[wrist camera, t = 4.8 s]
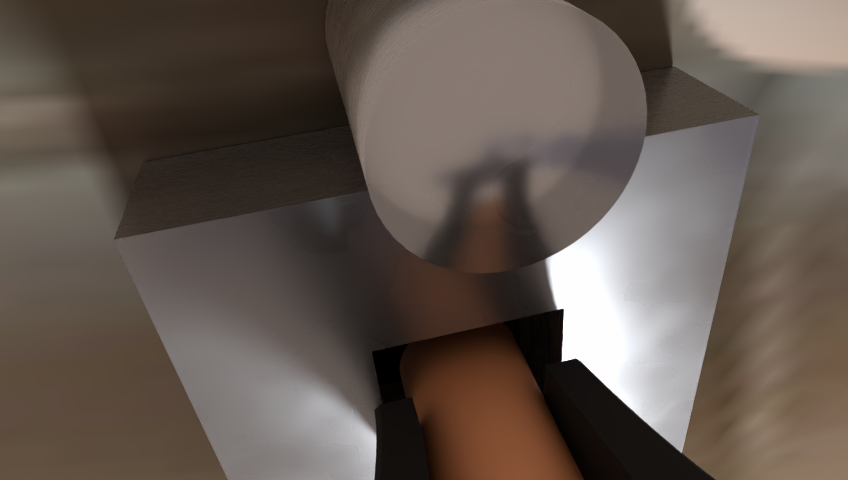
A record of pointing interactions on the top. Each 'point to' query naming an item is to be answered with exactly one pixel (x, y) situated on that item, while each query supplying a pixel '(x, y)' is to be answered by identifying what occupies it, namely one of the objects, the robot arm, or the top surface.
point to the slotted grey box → (443, 228)
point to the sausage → (483, 409)
